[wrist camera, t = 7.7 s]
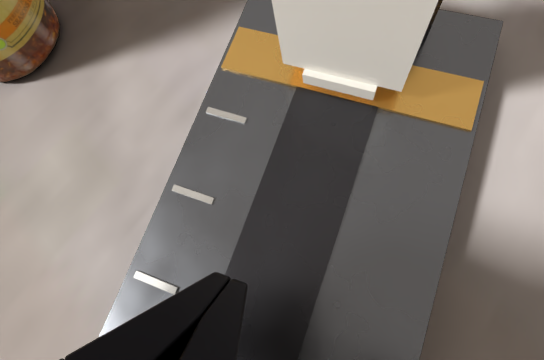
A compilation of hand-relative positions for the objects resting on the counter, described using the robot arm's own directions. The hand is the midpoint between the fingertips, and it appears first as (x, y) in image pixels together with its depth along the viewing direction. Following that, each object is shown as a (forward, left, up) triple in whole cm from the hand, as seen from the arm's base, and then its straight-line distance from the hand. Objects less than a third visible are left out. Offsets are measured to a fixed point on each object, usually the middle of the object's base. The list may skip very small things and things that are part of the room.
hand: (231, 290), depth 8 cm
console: (+2, -1, -8) cm, 8 cm away
